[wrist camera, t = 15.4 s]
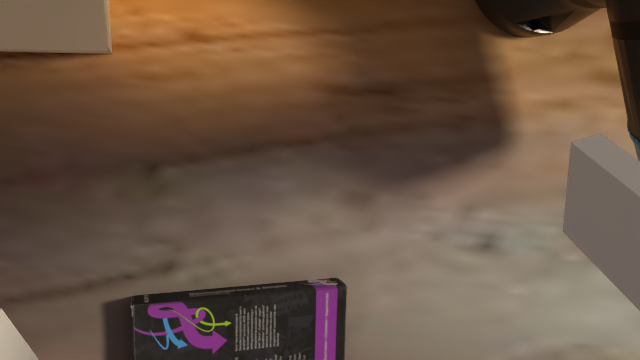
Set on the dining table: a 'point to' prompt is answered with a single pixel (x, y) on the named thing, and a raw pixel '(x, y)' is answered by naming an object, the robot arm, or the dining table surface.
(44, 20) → the flap
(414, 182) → the dining table surface
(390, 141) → the dining table surface
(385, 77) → the dining table surface
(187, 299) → the box
